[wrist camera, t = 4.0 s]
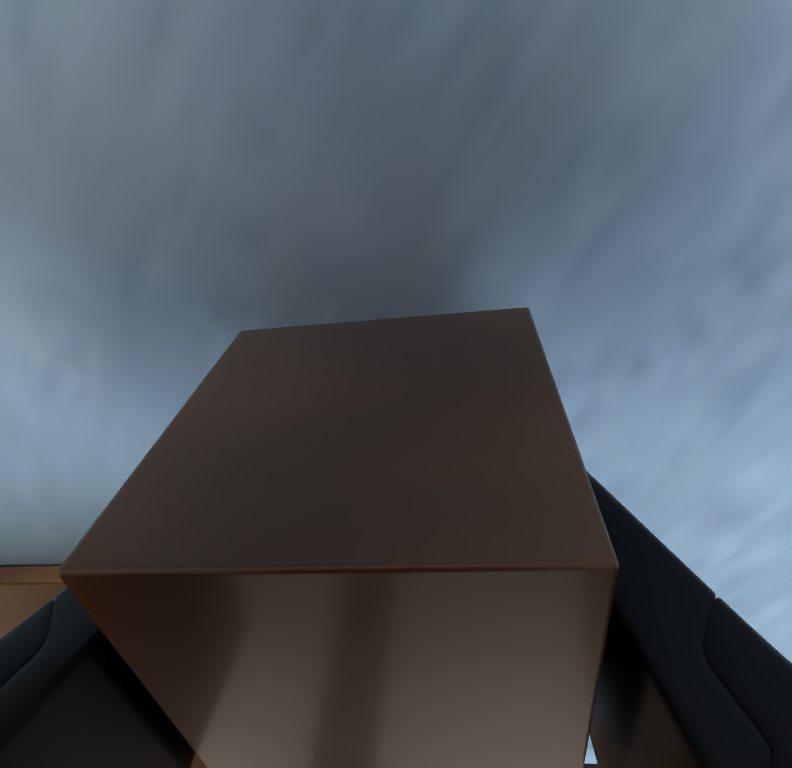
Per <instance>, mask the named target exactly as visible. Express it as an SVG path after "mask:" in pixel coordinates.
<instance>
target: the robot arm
mask: <svg viewBox="0 0 792 768" xmlns="http://www.w3.org/2000/svg"><path fill="white" fill-rule="evenodd" d="M586 472H587V471H586ZM587 475H588V478H589V481H590V483H591V486H592V489H593V492H594V495H595V498H596V500H597V503H598V506H599V509H600V512H601V515H602V518H603V520H604V523H605V526H606V529H607V532H608V535H609V537H610V540H611V543H612V546H613V549H614V552H615V554H616V557H617V560H618V563H619V569H618V574H617V580H616V586H615V591H614V597H613V603H612V608H611V614H610V620H609V625H608V631H607V637H606V642H605V648H604V654H603V659H602V665H601V671H600V676H599V682H598V687H597V693H596V699H595V704H594V710H593V716H592V721H591V727H590V733H589V734H590V737H591V741H592V745H593V748H594V752H595V756H596V759H597V763H598V766H599V768H792V663H791V662H790V661H789V660H787V659H786V658H785V657H784V656H783V655H782V654H780V653H779V652H778V651H777V650H776V649H775V648H774V647H773V646H772V645H771V644H769V643H768V642H767V641H766V640H765V639H764V638H763V637H762V636H761V635H760V634H758V633H757V632H756V631H755V630H754V629H753V628H752V627H751V626H750V625H749V624H747V623H746V622H745V621H744V620H743V619H742V618H741V617H740V616H739V615H738V614H737V613H736V612H735V611H734V610H733V609H732V608H730V607H729V606H728V605H727V604H726V603H725V602H724V601H723V600H722V599H721V598H715V596H716V595H715V593H714V592H713V591H712V590H711V589H710V588H709V587H708V586H707V585H706V584H705V583H704V582H703V581H702V580H701V579H700V578H699V577H698V576H696V575H695V574H694V573H693V572H692V571H691V570H690V569H689V568H688V567H687V566H686V565H685V564H684V563H683V562H682V561H681V560H680V559H679V558H678V557H677V556H675V555H674V554H673V553H672V552H671V551H670V550H669V549H668V548H667V547H666V546H665V545H664V544H663V543H662V542H661V541H660V540H659V539H658V538H657V537H655V536H654V535H653V534H652V533H651V532H650V531H649V530H648V529H647V528H646V527H645V526H644V525H643V524H642V523H641V522H640V521H639V520H638V519H637V518H636V517H634V516H633V515H632V514H631V513H630V512H629V511H628V510H627V509H626V508H625V507H624V506H623V505H622V504H621V503H620V502H619V501H618V500H617V499H616V498H614V497H613V496H612V495H611V494H610V493H609V492H608V491H607V490H606V489H605V488H604V487H603V486H602V485H601V484H600V483H599V482H598V481H597V480H596V479H595V478H593V477H592V476H591V475H590V474H589V473H588V472H587ZM195 753H196V752H195V751H194V750H193V749H192V747H191V746H190V745H189V743H188V742H187V741H186V740H185V738H184V737H183V736H182V734H181V733H180V732H179V731H178V729H177V728H176V727H175V725H174V724H173V723H172V721H171V720H170V719H169V718H168V716H167V715H166V714H165V712H164V711H163V710H162V709H161V707H160V706H159V705H158V703H157V702H156V701H155V700H154V698H153V697H152V696H151V694H150V693H149V692H148V691H147V689H146V688H145V687H144V685H143V684H142V683H141V682H140V680H139V679H138V678H137V676H136V675H135V674H134V673H133V671H132V670H131V669H130V667H129V666H128V665H127V664H126V662H125V661H124V660H123V658H122V657H121V656H120V654H119V653H118V652H117V651H116V649H115V648H114V647H113V645H112V644H111V643H110V642H109V640H108V639H107V638H106V636H105V635H104V634H103V633H102V631H101V630H100V629H99V627H98V626H97V625H96V624H95V622H94V621H93V620H92V618H91V617H90V616H89V615H88V613H87V612H86V611H85V609H84V608H83V607H82V606H81V604H80V603H79V602H78V600H77V599H76V598H75V597H74V595H73V594H72V593H71V591H70V590H69V589H68V587H67V588H66V589H64V590H63V591H62V592H61V593H59V594H58V595H57V596H56V597H55V600H50V601H49V602H48V603H46V604H45V605H44V606H42V607H41V608H40V609H39V610H37V611H36V612H35V613H33V614H32V615H31V616H30V617H28V618H27V619H26V620H24V621H23V622H22V623H20V624H19V625H18V626H16V627H15V628H14V629H12V630H11V631H10V632H8V633H7V634H6V635H5V636H3V637H2V638H1V639H0V768H191V766H192V763H193V760H194V757H195Z"/></svg>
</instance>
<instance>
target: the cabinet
mask: <svg viewBox="0 0 792 768" xmlns="http://www.w3.org/2000/svg"><path fill="white" fill-rule="evenodd" d="M60 567H61V566H8V567H0V639H1V638H2V637H3V636H5V635H6V634H7V633H8V632H10V631H11V630H12V629H14V628H15V627H16V626H18V625H19V624H20V623H22V622H23V621H24V620H26V619H27V618H28V617H30V616H31V615H32V614H33V613H35V612H36V611H37V610H39V609H40V608H41V607H42V606H44V605H45V604H46V603H48V602H49V601H50V600H55V597H56V596H57V595H58V594H59V593H61V592H62V591H63V590H64V589H66V588H67V586H66V585H65V584H64V582H63V581H62V580H61V578H60V577H59V576H58V570H59V568H60ZM191 768H207V767H206V765H205V764H204V763H203V761H202V760H201V759H200V758H199V756H198V755H197V754H196V753H195V757H194V760H193V763H192V766H191Z"/></svg>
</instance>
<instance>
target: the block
mask: <svg viewBox="0 0 792 768" xmlns="http://www.w3.org/2000/svg"><path fill="white" fill-rule="evenodd" d="M618 569H619V563H618V560H617V557H616V554H615V552H614V549H613V546H612V543H611V540H610V537H609V535H608V532H607V529H606V526H605V523H604V520H603V518H602V515H601V512H600V509H599V506H598V503H597V500H596V498H595V495H594V492H593V489H592V486H591V483H590V481H589V478H588V475H587V472H586V469H585V466H584V464H583V461H582V458H581V455H580V452H579V449H578V447H577V444H576V441H575V438H574V435H573V432H572V430H571V427H570V424H569V421H568V418H567V415H566V412H565V410H564V407H563V404H562V401H561V398H560V395H559V393H558V390H557V387H556V384H555V381H554V378H553V376H552V373H551V370H550V367H549V364H548V361H547V359H546V356H545V353H544V350H543V347H542V344H541V342H540V339H539V336H538V333H537V330H536V327H535V325H534V322H533V319H532V316H531V313H530V310H529V308H514V309H502V310H490V311H477V312H465V313H453V314H441V315H429V316H417V317H405V318H392V319H380V320H368V321H356V322H344V323H332V324H320V325H308V326H295V327H283V328H271V329H259V330H247V331H241V332H240V333H239V334H238V335H237V337H236V338H235V339H234V341H233V342H232V343H231V344H230V346H229V347H228V348H227V350H226V351H225V352H224V354H223V355H222V356H221V358H220V359H219V360H218V361H217V363H216V364H215V365H214V367H213V368H212V369H211V371H210V372H209V373H208V375H207V376H206V377H205V379H204V380H203V381H202V382H201V384H200V385H199V386H198V388H197V389H196V390H195V392H194V393H193V394H192V396H191V397H190V398H189V399H188V401H187V402H186V403H185V405H184V406H183V407H182V409H181V410H180V411H179V413H178V414H177V415H176V416H175V418H174V419H173V420H172V422H171V423H170V424H169V426H168V427H167V428H166V430H165V431H164V432H163V433H162V435H161V436H160V437H159V439H158V440H157V441H156V443H155V444H154V445H153V447H152V448H151V449H150V450H149V452H148V453H147V454H146V456H145V457H144V458H143V460H142V461H141V462H140V464H139V465H138V466H137V467H136V469H135V470H134V471H133V473H132V474H131V475H130V477H129V478H128V479H127V481H126V482H125V483H124V484H123V486H122V487H121V488H120V490H119V491H118V492H117V494H116V495H115V496H114V498H113V499H112V500H111V501H110V503H109V504H108V505H107V507H106V508H105V509H104V511H103V512H102V513H101V515H100V516H99V517H98V519H97V520H96V521H95V522H94V524H93V525H92V526H91V528H90V529H89V530H88V532H87V533H86V534H85V536H84V537H83V538H82V539H81V541H80V542H79V543H78V545H77V546H76V547H75V549H74V550H73V551H72V553H71V554H70V555H69V556H68V558H67V559H66V560H65V562H64V563H63V564H62V566H61V567H60V568H59V570H58V576H59V577H60V578H61V580H62V581H63V582H64V584H65V585H66V586H67V587H68V589H69V590H70V591H71V593H72V594H73V595H74V597H75V598H76V599H77V600H78V602H79V603H80V604H81V606H82V607H83V608H84V609H85V611H86V612H87V613H88V615H89V616H90V617H91V618H92V620H93V621H94V622H95V624H96V625H97V626H98V627H99V629H100V630H101V631H102V633H103V634H104V635H105V636H106V638H107V639H108V640H109V642H110V643H111V644H112V645H113V647H114V648H115V649H116V651H117V652H118V653H119V654H120V656H121V657H122V658H123V660H124V661H125V662H126V664H127V665H128V666H129V667H130V669H131V670H132V671H133V673H134V674H135V675H136V676H137V678H138V679H139V680H140V682H141V683H142V684H143V685H144V687H145V688H146V689H147V691H148V692H149V693H150V694H151V696H152V697H153V698H154V700H155V701H156V702H157V703H158V705H159V706H160V707H161V709H162V710H163V711H164V712H165V714H166V715H167V716H168V718H169V719H170V720H171V721H172V723H173V724H174V725H175V727H176V728H177V729H178V731H179V732H180V733H181V734H182V736H183V737H184V738H185V740H186V741H187V742H188V743H189V745H190V746H191V747H192V749H193V750H194V751H195V752H196V754H197V755H198V756H199V758H200V759H201V760H202V761H203V763H204V764H205V765H206V767H207V768H583V767H584V761H585V755H586V750H587V744H588V738H589V733H590V727H591V721H592V716H593V710H594V704H595V699H596V693H597V687H598V682H599V676H600V671H601V665H602V659H603V654H604V648H605V642H606V637H607V631H608V625H609V620H610V614H611V608H612V603H613V597H614V591H615V586H616V580H617V574H618Z"/></svg>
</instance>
